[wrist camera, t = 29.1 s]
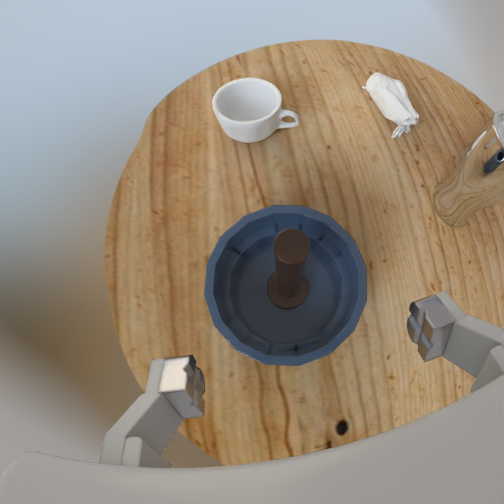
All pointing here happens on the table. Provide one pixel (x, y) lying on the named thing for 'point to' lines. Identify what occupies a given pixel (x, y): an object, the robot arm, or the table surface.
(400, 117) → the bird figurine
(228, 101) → the teacup
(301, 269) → the stick
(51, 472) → the robot arm
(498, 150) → the silver metal tumbler
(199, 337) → the table surface
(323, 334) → the bowl
